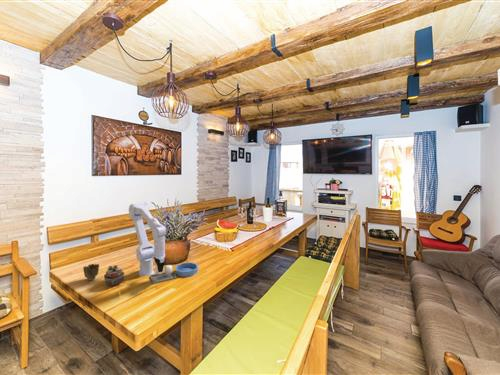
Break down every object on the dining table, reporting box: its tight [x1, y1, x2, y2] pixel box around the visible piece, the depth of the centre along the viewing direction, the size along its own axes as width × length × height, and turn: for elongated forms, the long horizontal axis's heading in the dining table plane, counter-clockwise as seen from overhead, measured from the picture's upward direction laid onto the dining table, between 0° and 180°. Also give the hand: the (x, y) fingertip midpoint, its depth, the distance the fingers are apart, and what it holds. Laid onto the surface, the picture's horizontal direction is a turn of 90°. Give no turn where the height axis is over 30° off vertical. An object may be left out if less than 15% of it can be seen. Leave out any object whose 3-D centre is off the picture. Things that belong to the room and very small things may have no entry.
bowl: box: [174, 261, 199, 278], centre depth 140 cm, size 14×14×4 cm
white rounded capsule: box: [154, 263, 165, 274], centre depth 128 cm, size 4×4×6 cm
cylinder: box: [164, 264, 173, 277], centre depth 134 cm, size 4×4×6 cm
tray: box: [149, 270, 178, 285], centre depth 131 cm, size 10×13×1 cm
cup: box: [82, 263, 100, 281], centre depth 127 cm, size 8×7×8 cm
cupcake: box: [103, 265, 125, 288], centre depth 124 cm, size 10×10×10 cm
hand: (159, 270), depth 128 cm, fingers closed on white rounded capsule, 4 cm apart
